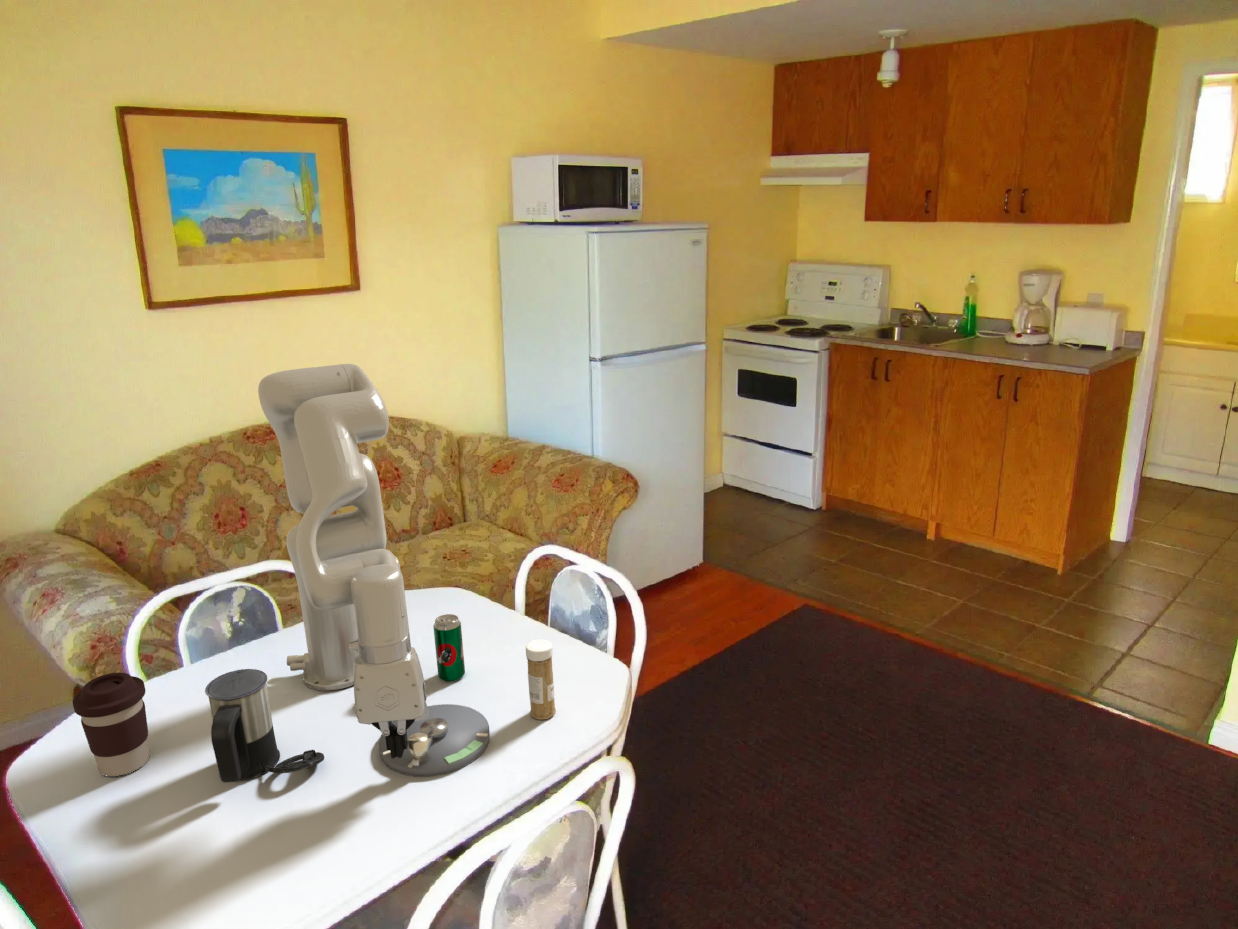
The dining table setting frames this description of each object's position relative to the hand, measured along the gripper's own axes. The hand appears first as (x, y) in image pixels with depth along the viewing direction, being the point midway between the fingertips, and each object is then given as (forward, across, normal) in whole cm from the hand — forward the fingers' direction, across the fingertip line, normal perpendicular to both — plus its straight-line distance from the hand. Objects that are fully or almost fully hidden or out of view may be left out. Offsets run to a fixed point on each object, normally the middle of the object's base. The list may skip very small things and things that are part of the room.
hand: (398, 752), depth 135 cm
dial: (+4, +4, +8) cm, 10 cm away
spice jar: (+4, +22, +15) cm, 27 cm away
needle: (+2, +4, +5) cm, 7 cm away
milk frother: (+4, -21, +5) cm, 22 cm away
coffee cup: (+4, -46, +8) cm, 47 cm away
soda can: (+4, +5, +29) cm, 30 cm away
